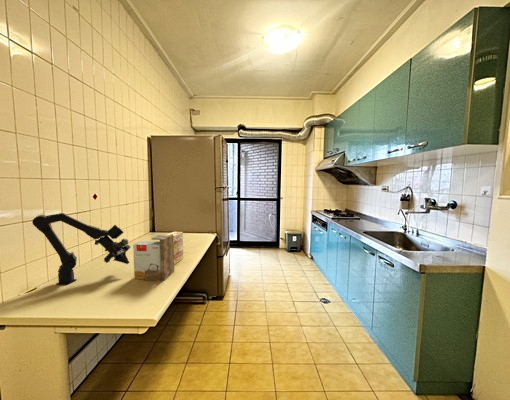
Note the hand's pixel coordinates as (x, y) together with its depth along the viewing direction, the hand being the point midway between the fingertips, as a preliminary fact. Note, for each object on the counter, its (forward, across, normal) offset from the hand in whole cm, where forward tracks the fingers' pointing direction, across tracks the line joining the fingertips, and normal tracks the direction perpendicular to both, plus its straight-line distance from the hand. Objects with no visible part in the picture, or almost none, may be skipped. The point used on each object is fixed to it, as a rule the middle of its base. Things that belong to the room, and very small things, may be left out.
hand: (128, 263), depth 142 cm
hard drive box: (+15, -2, -5) cm, 16 cm away
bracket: (+18, -1, -9) cm, 20 cm away
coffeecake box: (+18, +24, -8) cm, 31 cm away
